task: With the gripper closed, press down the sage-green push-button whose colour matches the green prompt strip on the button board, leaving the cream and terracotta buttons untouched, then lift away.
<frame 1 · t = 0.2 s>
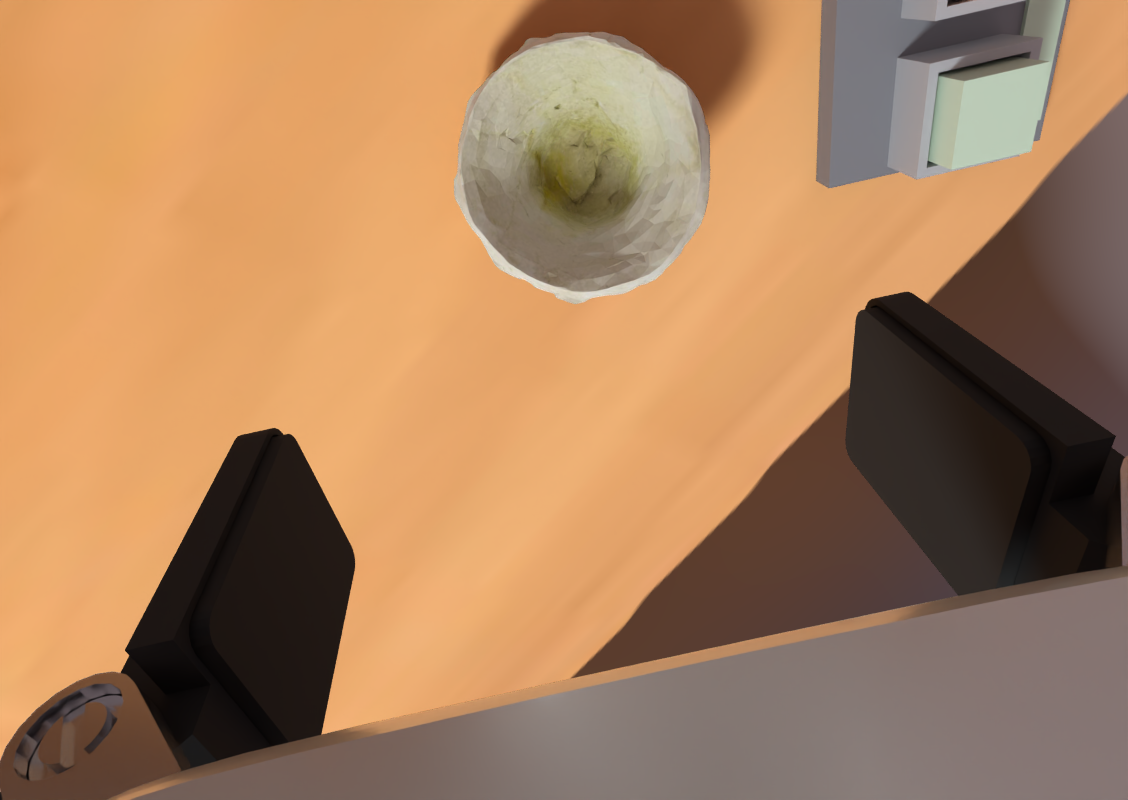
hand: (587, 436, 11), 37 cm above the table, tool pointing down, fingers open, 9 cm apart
green button: (982, 113, 39), point 6 cm above the table, slide at 0.0 cm
bowl: (564, 149, 43), on the table
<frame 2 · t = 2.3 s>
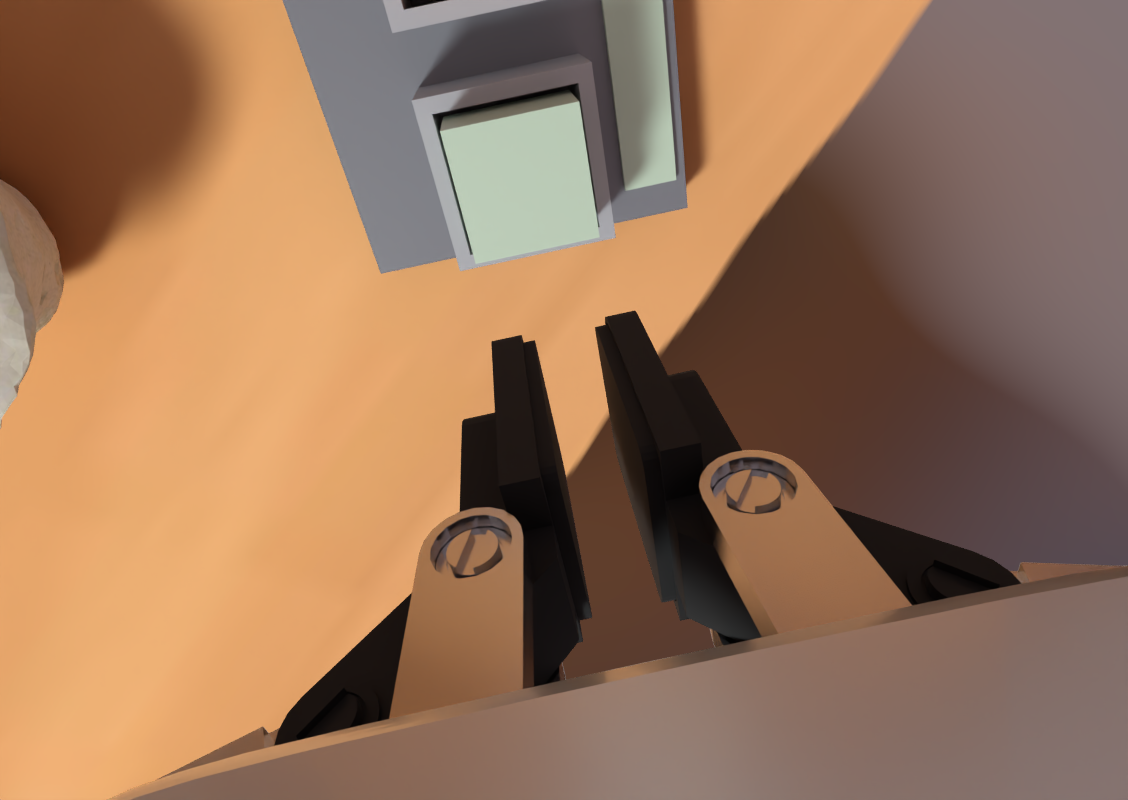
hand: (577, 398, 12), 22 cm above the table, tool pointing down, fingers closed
green button: (521, 177, 25), point 6 cm above the table, slide at 0.0 cm
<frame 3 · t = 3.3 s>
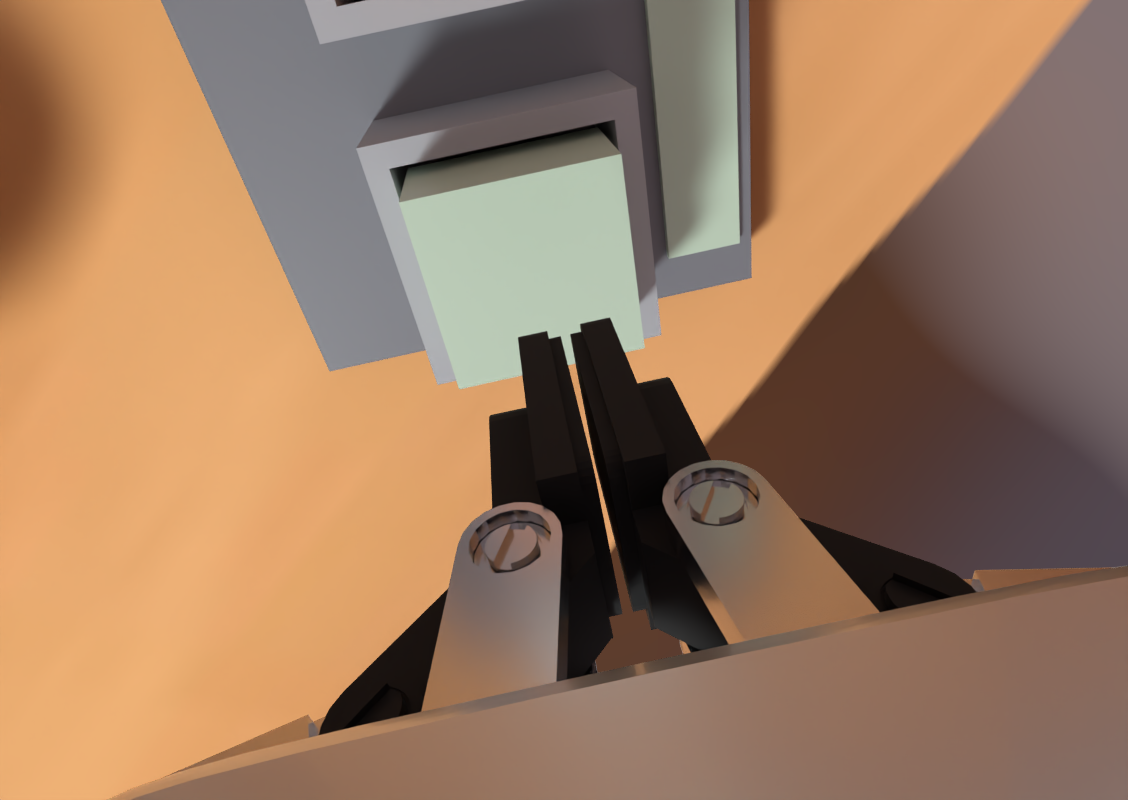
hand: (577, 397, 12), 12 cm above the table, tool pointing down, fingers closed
green button: (527, 259, 17), point 6 cm above the table, slide at 0.0 cm
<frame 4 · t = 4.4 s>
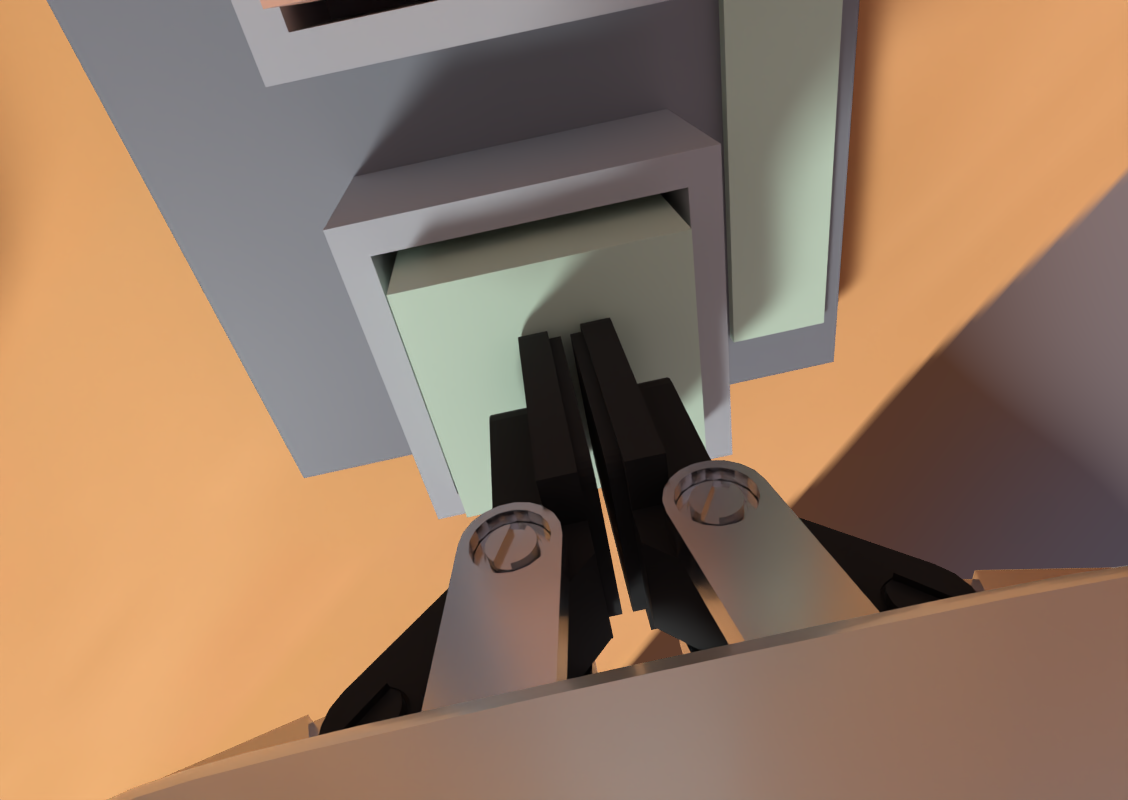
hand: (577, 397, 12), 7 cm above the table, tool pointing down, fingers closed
green button: (556, 350, 13), point 5 cm above the table, slide at 0.9 cm, touching gripper
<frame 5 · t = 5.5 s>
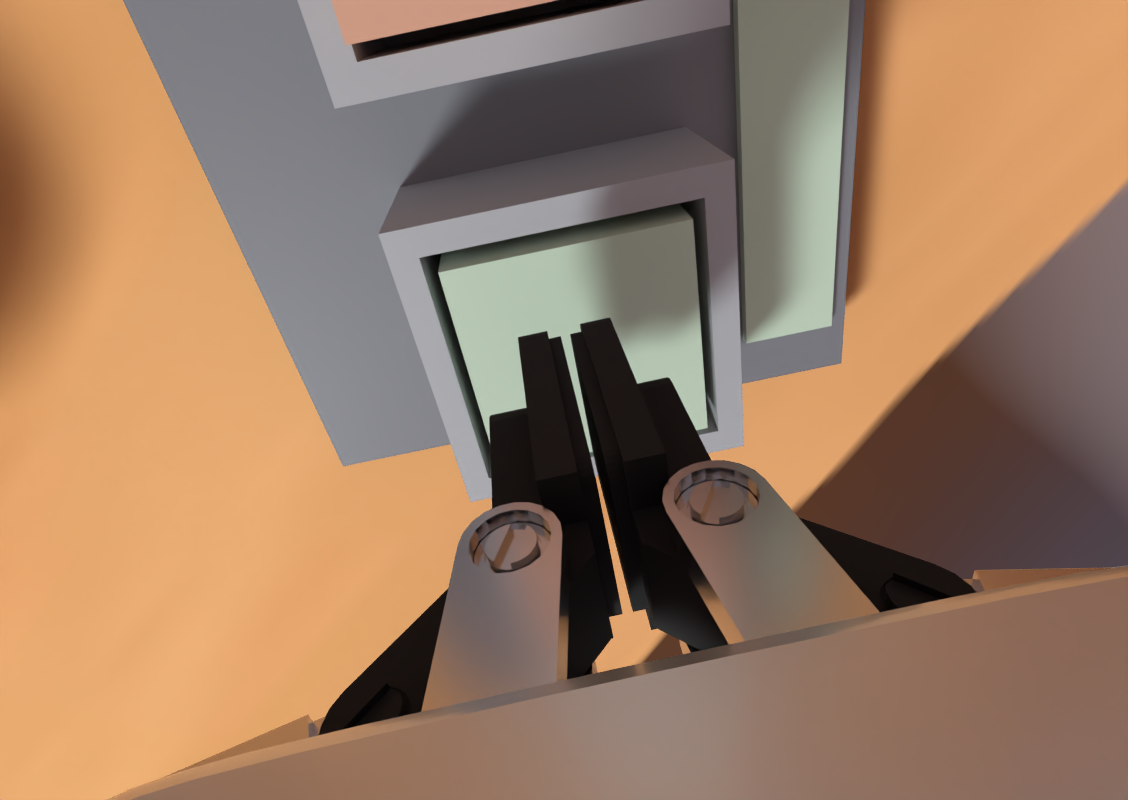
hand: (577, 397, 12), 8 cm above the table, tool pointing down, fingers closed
green button: (577, 327, 15), point 4 cm above the table, slide at 1.8 cm
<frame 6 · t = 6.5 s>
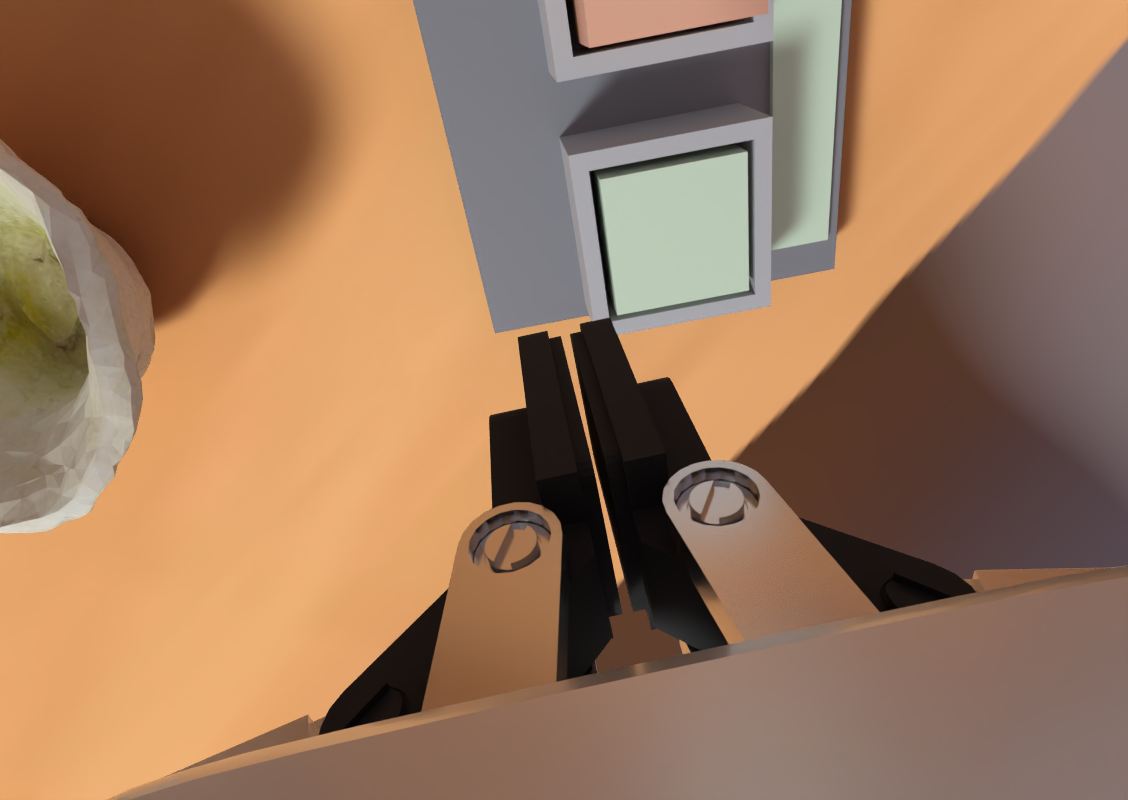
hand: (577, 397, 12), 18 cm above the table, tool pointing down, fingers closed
green button: (668, 225, 24), point 4 cm above the table, slide at 1.8 cm
bowl: (53, 260, 27), on the table
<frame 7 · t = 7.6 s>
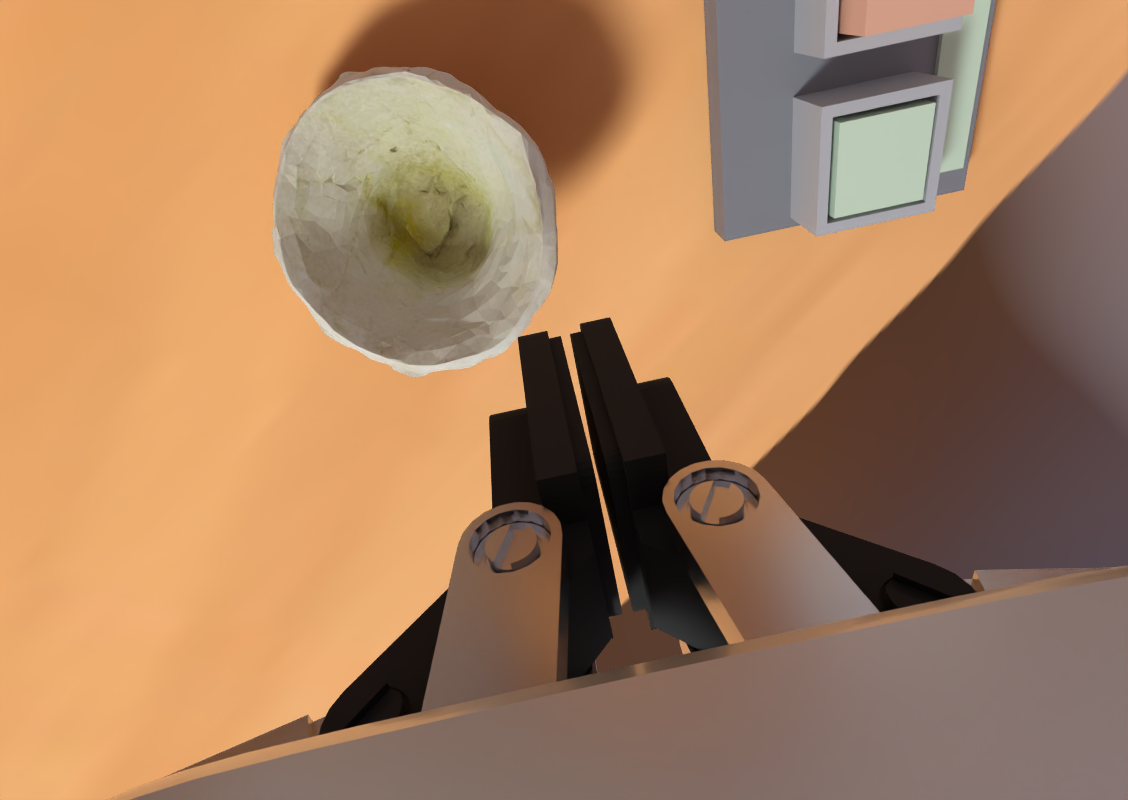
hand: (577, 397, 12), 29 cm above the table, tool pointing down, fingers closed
green button: (868, 156, 35), point 4 cm above the table, slide at 1.8 cm
bowl: (418, 193, 38), on the table
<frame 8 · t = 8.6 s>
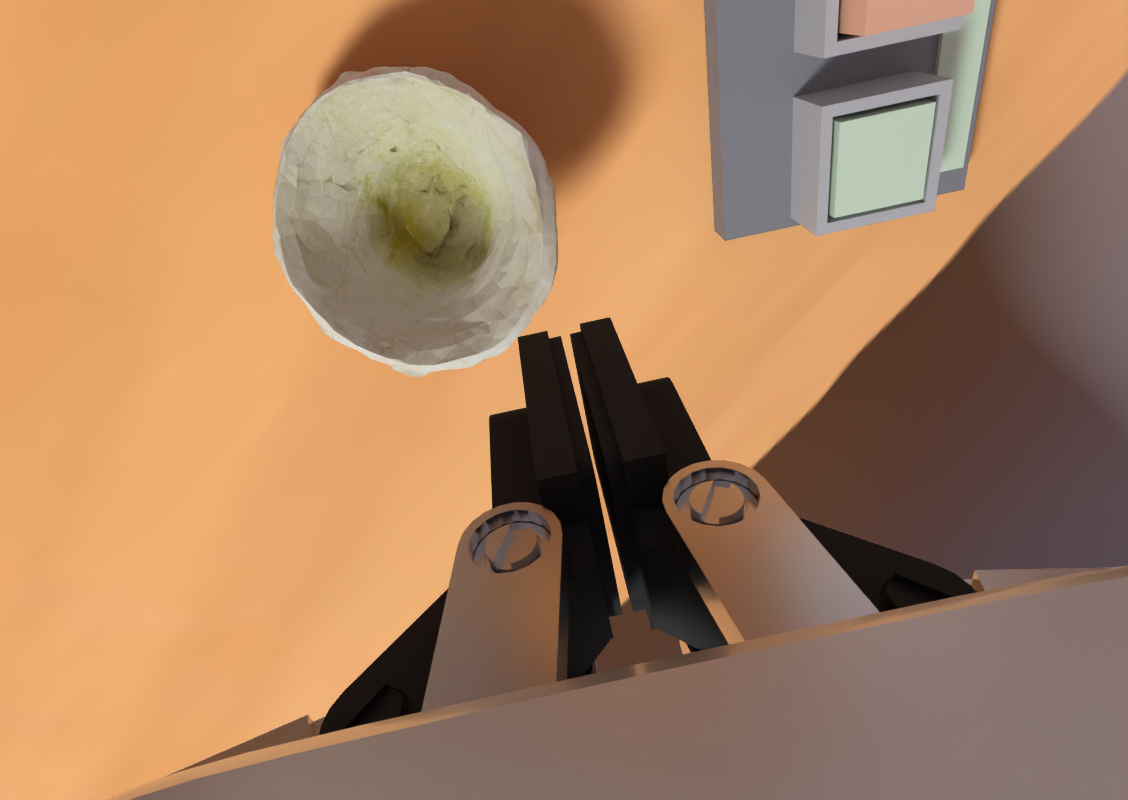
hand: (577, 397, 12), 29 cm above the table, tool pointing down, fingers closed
green button: (868, 156, 35), point 4 cm above the table, slide at 1.8 cm
bowl: (419, 193, 38), on the table
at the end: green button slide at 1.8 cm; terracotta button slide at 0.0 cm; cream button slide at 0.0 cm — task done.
